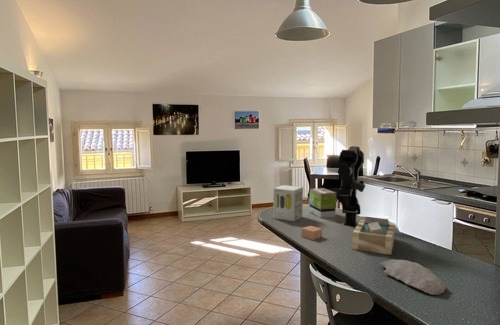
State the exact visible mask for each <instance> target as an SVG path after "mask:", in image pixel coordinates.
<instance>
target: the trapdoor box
mask: <svg viewBox="0 0 500 325" xmlns="http://www.w3.org/2000/svg"><path fill="white" fill-rule="evenodd" d="M364 225H365V219H360V220H359V222H357V225H356V226H355V228H354V230H353V231H352V243H351V244H352V246H351V247H352V250H358V251H364V252H370V253H378V254H384V255H389V256H391V255H392V252H393V247H394V243H395V242H394V241H395V232H396V231H395V230H396V223H391V222H388V230H387V234H386V235H380V234H373V233H365V232H363V230H364Z"/></svg>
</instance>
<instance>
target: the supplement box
mask: <svg viewBox="0 0 500 325" xmlns="http://www.w3.org/2000/svg"><path fill="white" fill-rule="evenodd" d="M303 193H304V186H294V185H287V184H283V185H280V186H279V185H278V186H276V187H273V201H272V202H273V205H272V207H273V208H272V209H273V210H272V211H273V214H272V218H273V219H277V220H282V221H283V220H284V221H290V222H295V221H297V220H299V219H300V218H302V217H303V200H304V199H303V196H304V194H303Z"/></svg>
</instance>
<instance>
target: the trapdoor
mask: <svg viewBox="0 0 500 325" xmlns="http://www.w3.org/2000/svg"><path fill="white" fill-rule="evenodd" d="M364 220H365V225H364V230H363V232H365V233H368V223H374V222H378V223H379V225H380V227H381V235H386V234H387V230H388V223H389V219H388V218H382V217H371V216H365V219H364Z"/></svg>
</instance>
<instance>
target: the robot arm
mask: <svg viewBox="0 0 500 325" xmlns="http://www.w3.org/2000/svg"><path fill="white" fill-rule="evenodd" d="M364 154H365V153H364V152H363V151H362V150H361V149H360V146H350V147H349V148H348V149H341V151H340V153H339V158H338V162H337V163H338V164H337V165H341V166H339V167H338V169H337V174H338V176H339V177H340V181H341V183H340V187H339V188H338V189H337V190H336V196H337V197H338V198H339V201H340V203H341V206H342V210H341V212H342V214H344V215H345V217H344V222H343V225H344V226H350V227H356V226H357V225H358V222H357V216H359V215H361V205H360V203H359V200H358V197H357V191H358V192H361V193H363V192H364V190H365V188H366V184H365V181H364V180H363V179H362V180H359V171H360V170H361V169H362V167H363V163H365V155H364ZM358 180H359V181H358Z"/></svg>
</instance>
